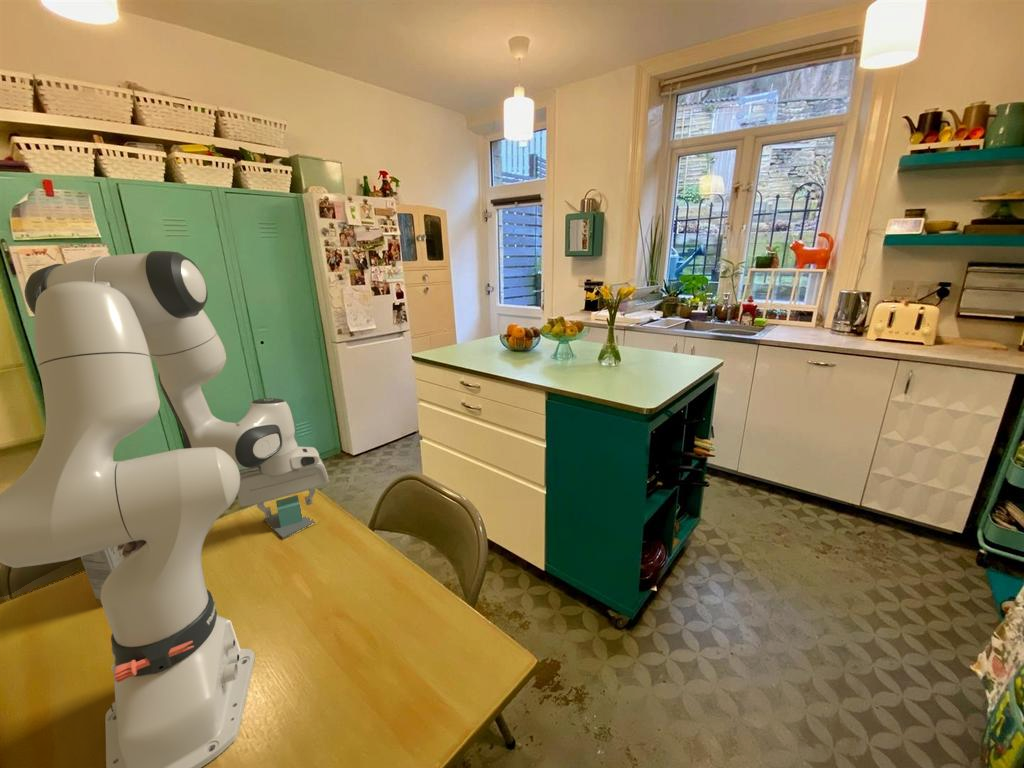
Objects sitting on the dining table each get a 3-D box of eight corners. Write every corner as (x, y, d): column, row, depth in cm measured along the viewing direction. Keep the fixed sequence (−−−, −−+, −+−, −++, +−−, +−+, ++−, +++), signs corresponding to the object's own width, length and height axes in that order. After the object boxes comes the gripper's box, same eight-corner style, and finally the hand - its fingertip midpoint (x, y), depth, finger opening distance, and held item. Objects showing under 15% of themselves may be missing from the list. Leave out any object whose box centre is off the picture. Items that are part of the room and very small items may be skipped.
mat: (319, 522, 108) (319, 520, 108) (283, 539, 102) (282, 537, 102) (299, 505, 116) (298, 503, 116) (263, 520, 109) (263, 518, 109)
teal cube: (302, 520, 108) (299, 503, 107) (280, 527, 106) (277, 510, 104) (300, 511, 112) (297, 495, 111) (279, 517, 110) (276, 500, 108)
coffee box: (138, 568, 93) (118, 504, 88) (164, 570, 92) (144, 506, 88) (94, 600, 84) (68, 531, 80) (121, 603, 83) (97, 533, 79)
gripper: (229, 477, 96) (241, 529, 100) (325, 455, 107) (333, 502, 110) (230, 466, 101) (241, 516, 105) (321, 446, 112) (328, 492, 116)
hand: (289, 509), depth 108 cm, fingers open, 8 cm apart
